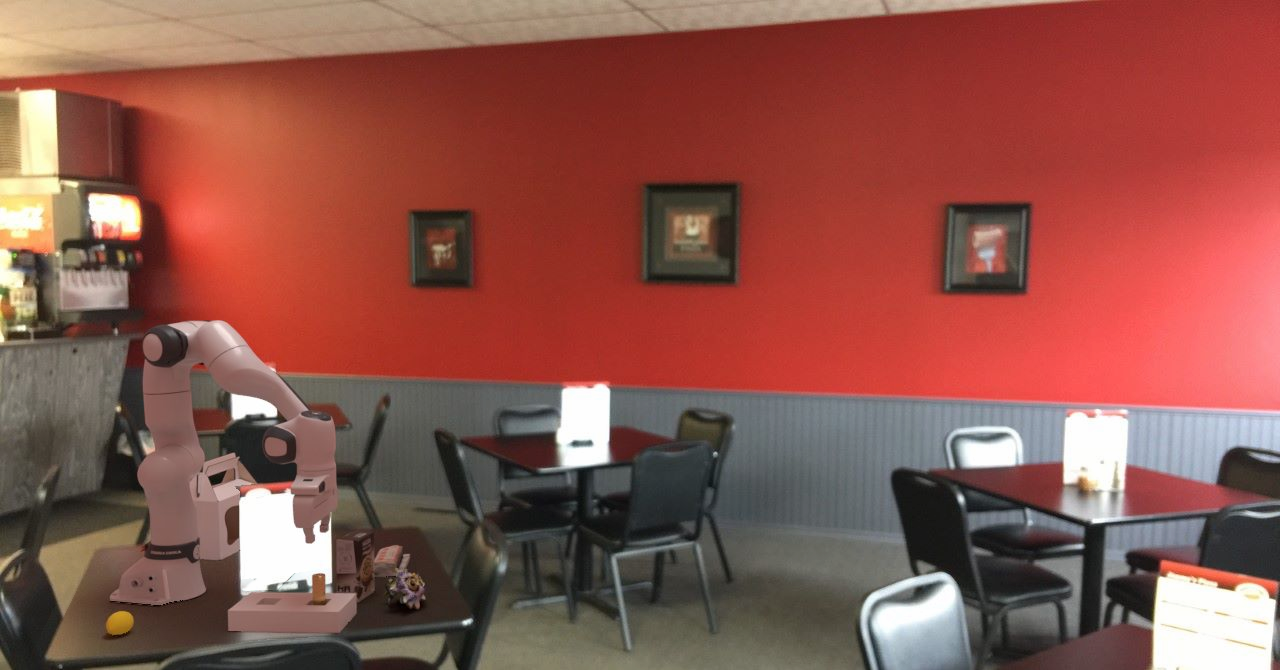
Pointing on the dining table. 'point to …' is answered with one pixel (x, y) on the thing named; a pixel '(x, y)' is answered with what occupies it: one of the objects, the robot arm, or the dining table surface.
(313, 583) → the brass pin
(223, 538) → the gable box
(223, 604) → the dining table surface
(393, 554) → the packaged product
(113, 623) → the lemon
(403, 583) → the passion flower
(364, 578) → the coffee box
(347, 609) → the socket block
